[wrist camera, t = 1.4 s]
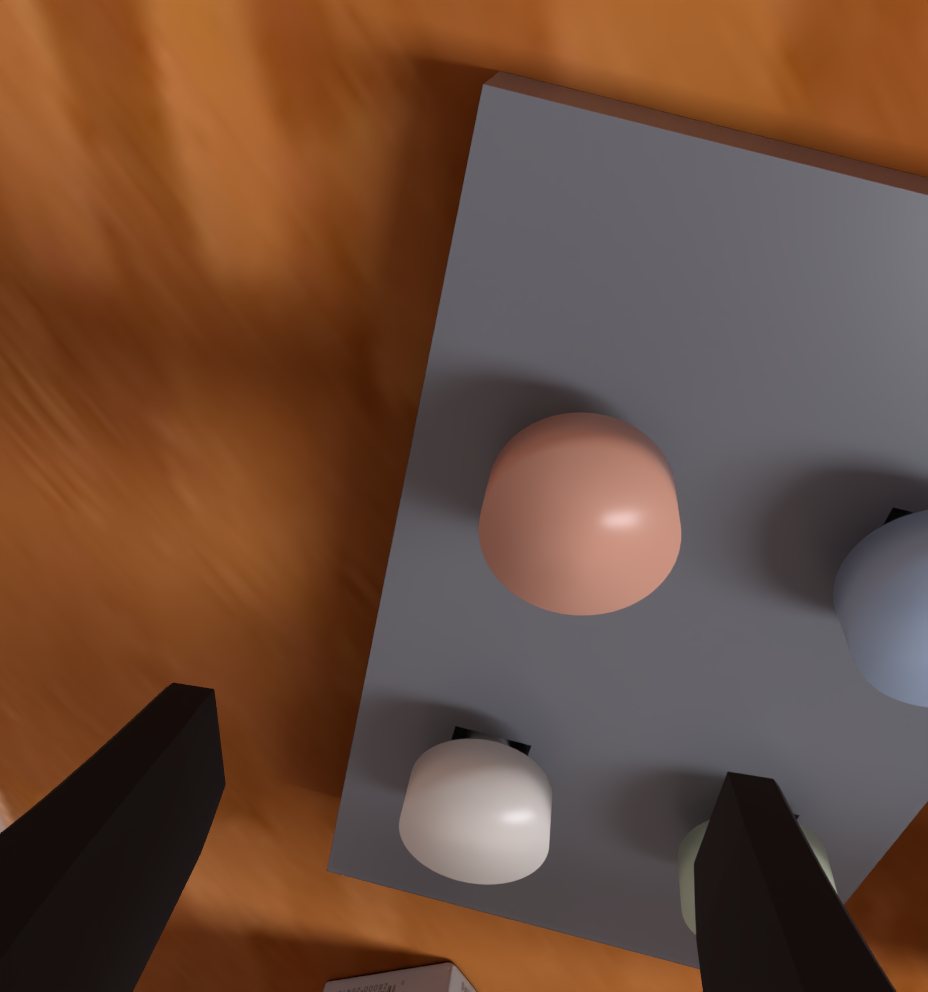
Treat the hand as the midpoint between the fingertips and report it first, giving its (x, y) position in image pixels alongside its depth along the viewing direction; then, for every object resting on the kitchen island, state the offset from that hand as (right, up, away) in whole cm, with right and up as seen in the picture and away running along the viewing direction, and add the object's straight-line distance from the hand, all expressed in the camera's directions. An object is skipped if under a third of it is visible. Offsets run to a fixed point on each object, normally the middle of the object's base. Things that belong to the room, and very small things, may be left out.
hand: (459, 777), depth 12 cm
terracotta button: (+3, +5, +6) cm, 8 cm away
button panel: (+5, +1, +10) cm, 11 cm away
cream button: (+1, -2, +11) cm, 11 cm away
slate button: (+9, +3, +6) cm, 12 cm away
